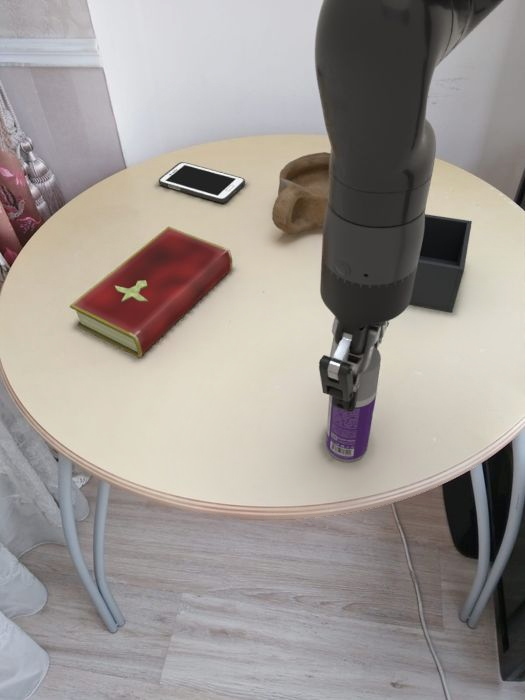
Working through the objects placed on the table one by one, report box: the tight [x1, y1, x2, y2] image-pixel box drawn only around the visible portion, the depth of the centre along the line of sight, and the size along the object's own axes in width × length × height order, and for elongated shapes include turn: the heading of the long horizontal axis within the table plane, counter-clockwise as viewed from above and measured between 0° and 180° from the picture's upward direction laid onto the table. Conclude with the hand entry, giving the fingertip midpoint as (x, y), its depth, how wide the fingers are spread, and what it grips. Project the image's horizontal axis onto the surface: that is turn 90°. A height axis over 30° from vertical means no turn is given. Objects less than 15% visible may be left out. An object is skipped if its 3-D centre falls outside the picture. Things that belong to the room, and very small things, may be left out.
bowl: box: [271, 151, 331, 234], centre depth 91 cm, size 18×14×10 cm
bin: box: [408, 213, 473, 313], centre depth 80 cm, size 11×11×8 cm
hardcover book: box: [69, 226, 233, 359], centre depth 81 cm, size 12×21×4 cm, turn 147°
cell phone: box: [158, 161, 246, 204], centre depth 102 cm, size 8×15×1 cm, turn 60°
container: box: [325, 346, 382, 463], centre depth 58 cm, size 5×5×15 cm
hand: (353, 387), depth 56 cm, fingers closed on container, 4 cm apart
